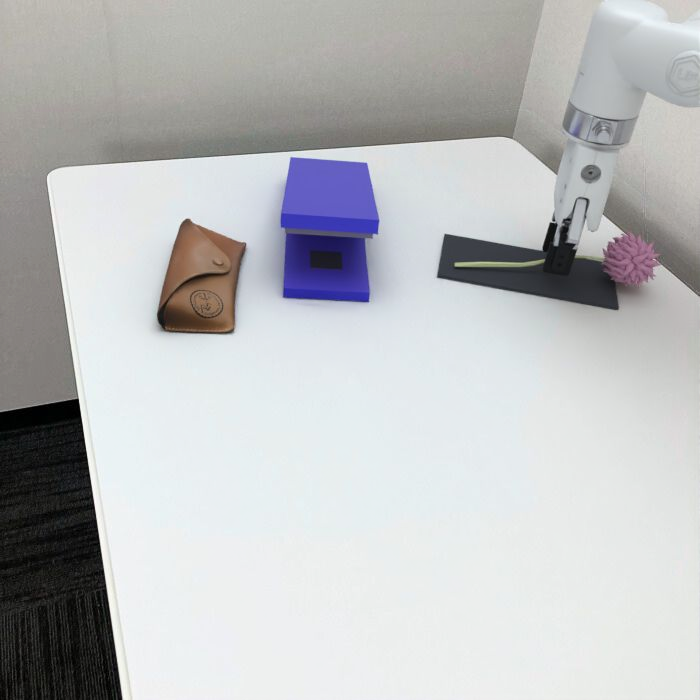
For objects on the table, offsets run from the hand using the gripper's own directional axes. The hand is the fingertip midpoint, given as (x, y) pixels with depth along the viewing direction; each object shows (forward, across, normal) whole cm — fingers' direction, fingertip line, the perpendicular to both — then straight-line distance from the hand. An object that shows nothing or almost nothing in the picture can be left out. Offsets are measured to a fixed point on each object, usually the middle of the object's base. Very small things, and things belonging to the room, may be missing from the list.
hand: (555, 261), depth 96 cm
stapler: (+2, 0, +29) cm, 29 cm away
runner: (+2, 0, +3) cm, 4 cm away
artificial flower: (+2, -1, 0) cm, 2 cm away
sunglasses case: (+2, -15, +40) cm, 43 cm away
